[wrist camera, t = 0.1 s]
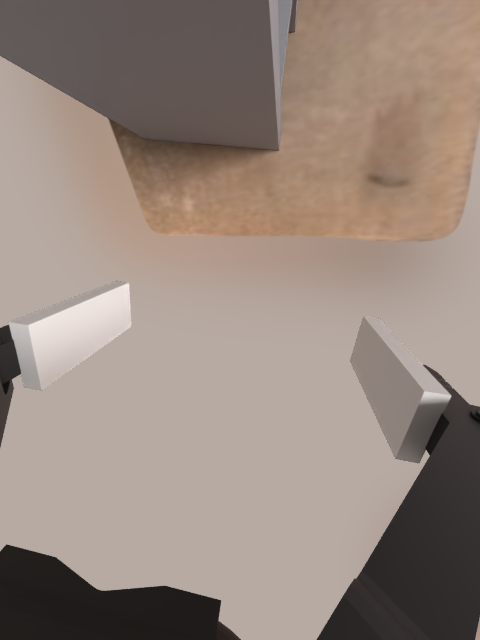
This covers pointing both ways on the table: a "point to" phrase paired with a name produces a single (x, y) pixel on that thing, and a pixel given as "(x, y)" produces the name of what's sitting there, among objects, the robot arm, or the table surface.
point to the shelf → (161, 62)
